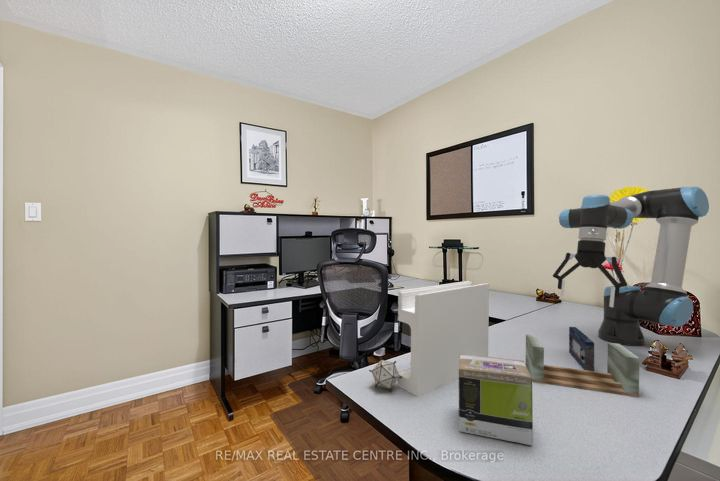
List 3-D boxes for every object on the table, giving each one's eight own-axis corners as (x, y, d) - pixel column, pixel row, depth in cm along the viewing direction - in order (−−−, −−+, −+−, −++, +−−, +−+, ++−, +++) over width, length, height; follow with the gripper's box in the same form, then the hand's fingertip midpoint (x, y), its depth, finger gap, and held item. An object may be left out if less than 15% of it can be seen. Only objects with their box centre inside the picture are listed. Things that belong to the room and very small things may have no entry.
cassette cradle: (618, 378, 96) (619, 343, 96) (638, 397, 85) (639, 358, 85) (525, 365, 105) (525, 334, 105) (532, 381, 94) (532, 346, 93)
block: (418, 396, 84) (418, 295, 84) (397, 385, 91) (398, 290, 90) (488, 365, 106) (489, 283, 105) (467, 357, 112) (468, 280, 111)
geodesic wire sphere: (384, 404, 88) (374, 385, 82) (371, 381, 95) (360, 362, 89) (410, 385, 89) (401, 365, 84) (395, 364, 96) (386, 345, 91)
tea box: (524, 420, 74) (525, 359, 74) (533, 448, 64) (534, 378, 64) (458, 408, 79) (459, 351, 79) (457, 432, 69) (458, 367, 69)
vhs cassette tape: (568, 352, 118) (569, 326, 118) (577, 353, 117) (578, 327, 117) (583, 371, 101) (584, 341, 101) (594, 373, 100) (595, 342, 100)
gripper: (548, 236, 109) (542, 296, 108) (643, 243, 95) (636, 311, 94) (549, 238, 115) (543, 295, 114) (637, 244, 101) (631, 309, 101)
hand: (585, 302), depth 104 cm, fingers open, 13 cm apart
